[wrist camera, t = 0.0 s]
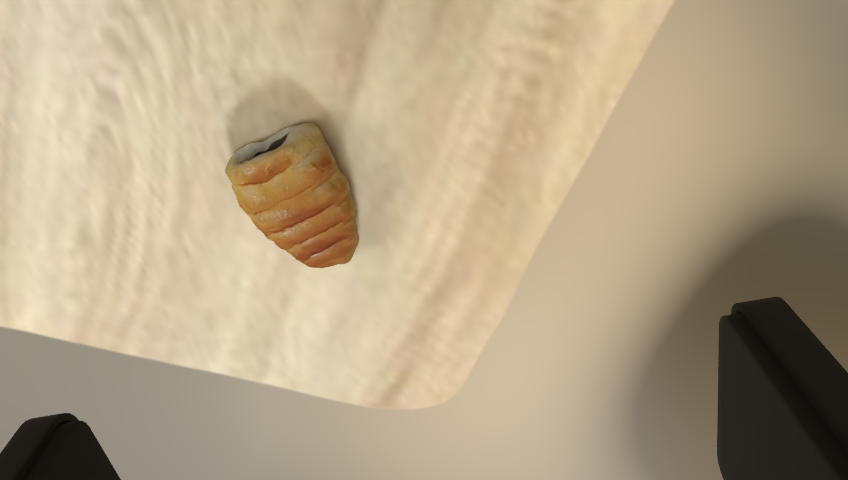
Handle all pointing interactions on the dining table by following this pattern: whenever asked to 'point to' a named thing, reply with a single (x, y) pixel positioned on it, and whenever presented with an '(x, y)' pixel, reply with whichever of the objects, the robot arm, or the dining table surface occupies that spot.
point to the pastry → (297, 195)
